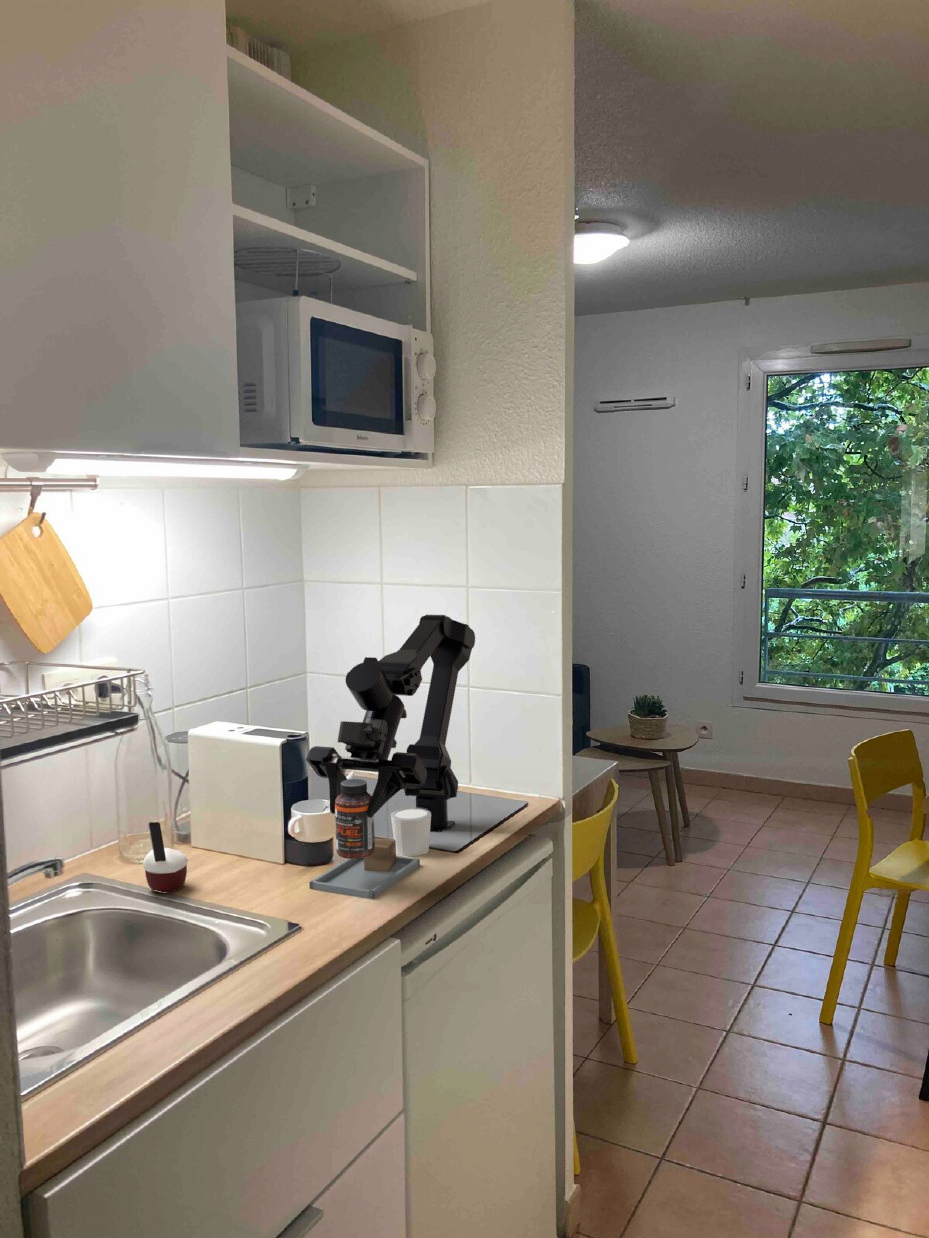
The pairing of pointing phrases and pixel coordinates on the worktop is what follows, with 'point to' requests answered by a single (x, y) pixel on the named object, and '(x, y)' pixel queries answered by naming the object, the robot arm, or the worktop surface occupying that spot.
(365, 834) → the supplement bottle
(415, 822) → the white cup
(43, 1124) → the worktop surface
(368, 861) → the walnut block
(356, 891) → the tray
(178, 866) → the cocoa
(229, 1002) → the worktop surface
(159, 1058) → the worktop surface
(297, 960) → the worktop surface
